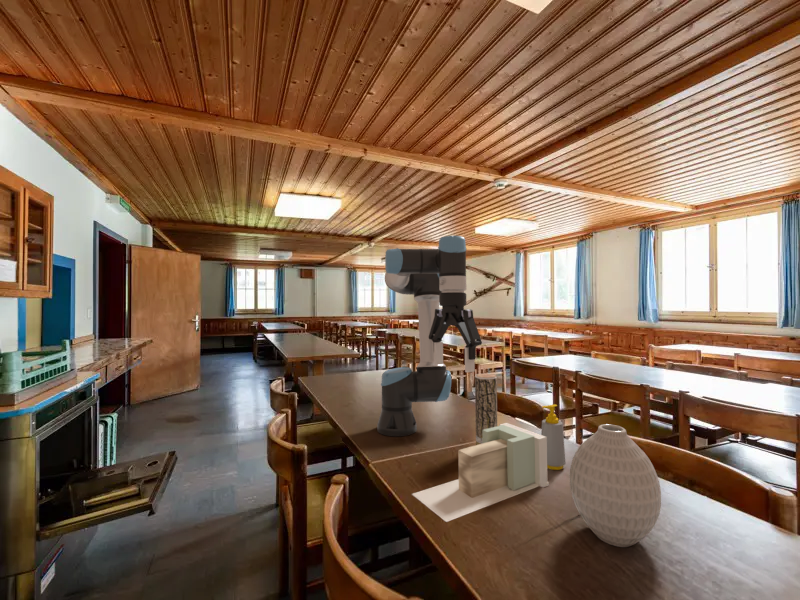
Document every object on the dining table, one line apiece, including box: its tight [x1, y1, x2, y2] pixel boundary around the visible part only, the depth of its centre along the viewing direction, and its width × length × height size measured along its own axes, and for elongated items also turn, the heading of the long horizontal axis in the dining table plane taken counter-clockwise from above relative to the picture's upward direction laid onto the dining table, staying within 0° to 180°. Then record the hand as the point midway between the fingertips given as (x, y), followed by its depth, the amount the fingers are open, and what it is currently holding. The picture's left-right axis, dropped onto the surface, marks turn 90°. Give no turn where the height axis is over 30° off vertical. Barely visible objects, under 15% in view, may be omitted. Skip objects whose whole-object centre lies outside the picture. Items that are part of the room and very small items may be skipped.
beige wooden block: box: [457, 439, 508, 498], centre depth 96 cm, size 5×15×10 cm, turn 121°
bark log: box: [474, 373, 498, 445], centre depth 119 cm, size 7×7×25 cm
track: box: [411, 422, 550, 523], centre depth 95 cm, size 14×34×13 cm, turn 121°
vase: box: [569, 423, 662, 548], centre depth 76 cm, size 16×16×22 cm
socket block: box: [482, 425, 535, 490], centre depth 100 cm, size 11×8×12 cm
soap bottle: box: [540, 403, 566, 471], centre depth 109 cm, size 7×7×18 cm
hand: (453, 368), depth 103 cm, fingers open, 13 cm apart
